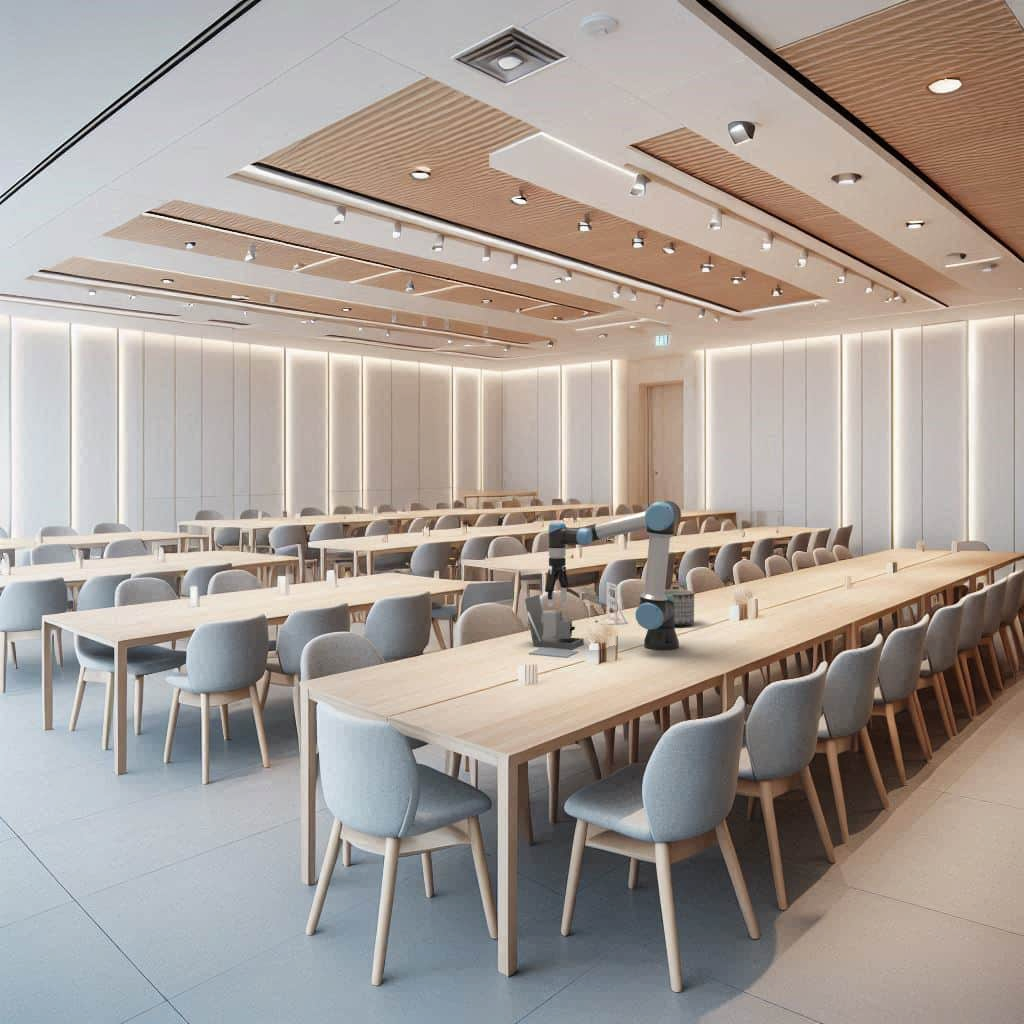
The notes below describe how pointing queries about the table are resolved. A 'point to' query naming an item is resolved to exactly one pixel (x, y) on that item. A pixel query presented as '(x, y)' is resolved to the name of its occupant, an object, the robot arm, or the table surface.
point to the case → (538, 627)
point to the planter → (683, 606)
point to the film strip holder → (609, 605)
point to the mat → (553, 652)
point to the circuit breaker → (556, 626)
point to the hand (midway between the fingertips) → (557, 604)
